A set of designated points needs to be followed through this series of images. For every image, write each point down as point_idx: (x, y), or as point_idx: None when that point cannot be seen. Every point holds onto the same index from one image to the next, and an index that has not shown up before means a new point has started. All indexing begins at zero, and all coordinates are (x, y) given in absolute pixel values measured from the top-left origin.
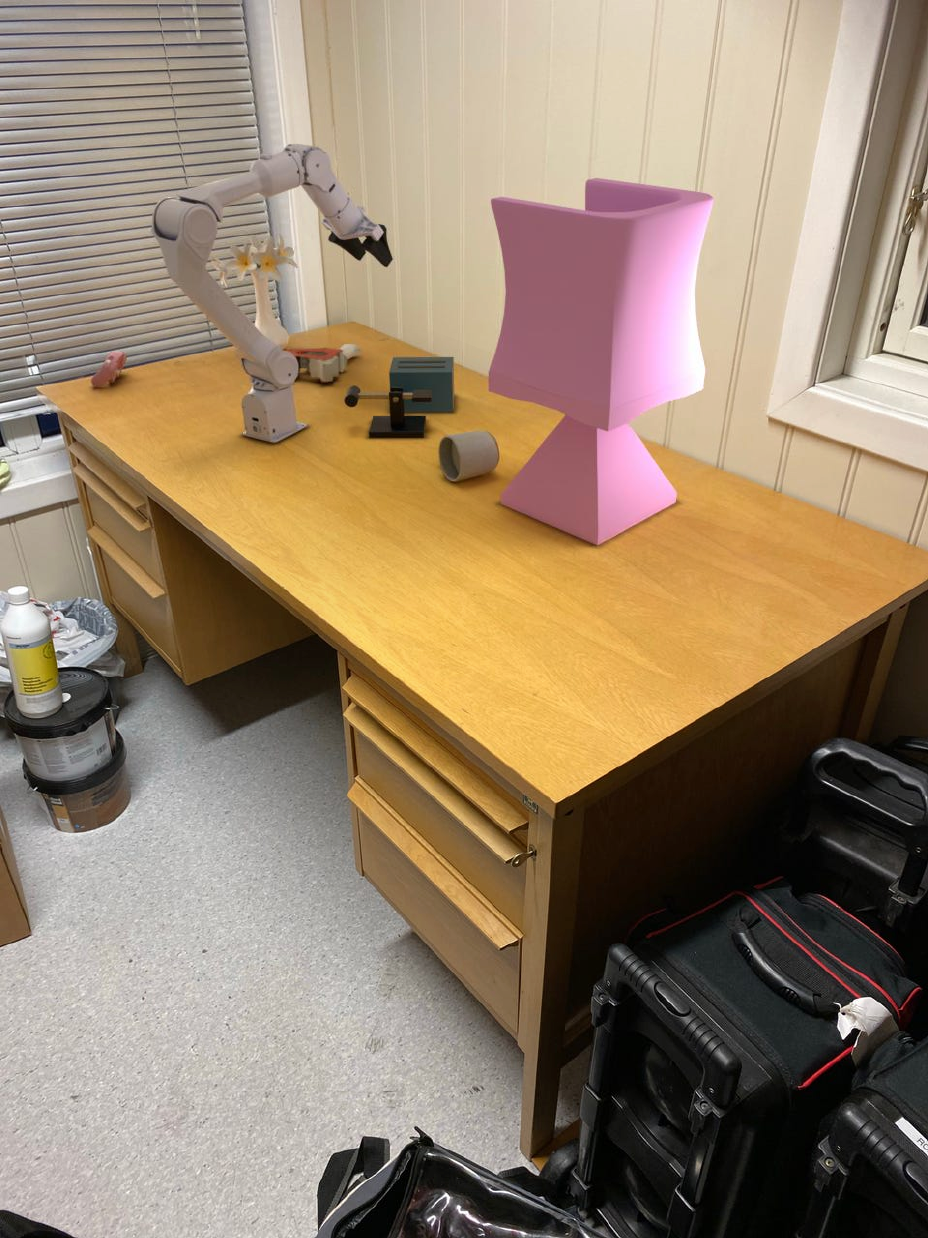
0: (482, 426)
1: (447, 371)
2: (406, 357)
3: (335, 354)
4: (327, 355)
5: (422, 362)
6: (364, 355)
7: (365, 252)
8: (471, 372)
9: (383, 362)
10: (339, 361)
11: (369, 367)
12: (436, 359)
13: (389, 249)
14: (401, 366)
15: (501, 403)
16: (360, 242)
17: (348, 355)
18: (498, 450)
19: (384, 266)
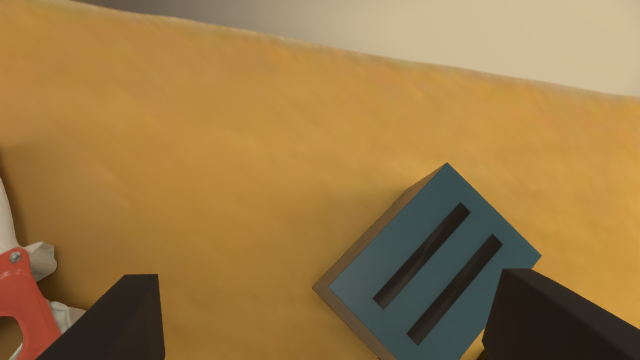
0: (580, 275)
1: (531, 261)
2: (360, 259)
3: (44, 303)
4: (38, 339)
5: (429, 258)
6: (3, 130)
7: (156, 282)
8: (322, 55)
9: (94, 136)
10: (37, 269)
11: (92, 187)
12: (434, 211)
13: (620, 321)
14: (417, 330)
15: (507, 154)
16: (113, 352)
17: (7, 202)
18: None
19: (489, 348)
